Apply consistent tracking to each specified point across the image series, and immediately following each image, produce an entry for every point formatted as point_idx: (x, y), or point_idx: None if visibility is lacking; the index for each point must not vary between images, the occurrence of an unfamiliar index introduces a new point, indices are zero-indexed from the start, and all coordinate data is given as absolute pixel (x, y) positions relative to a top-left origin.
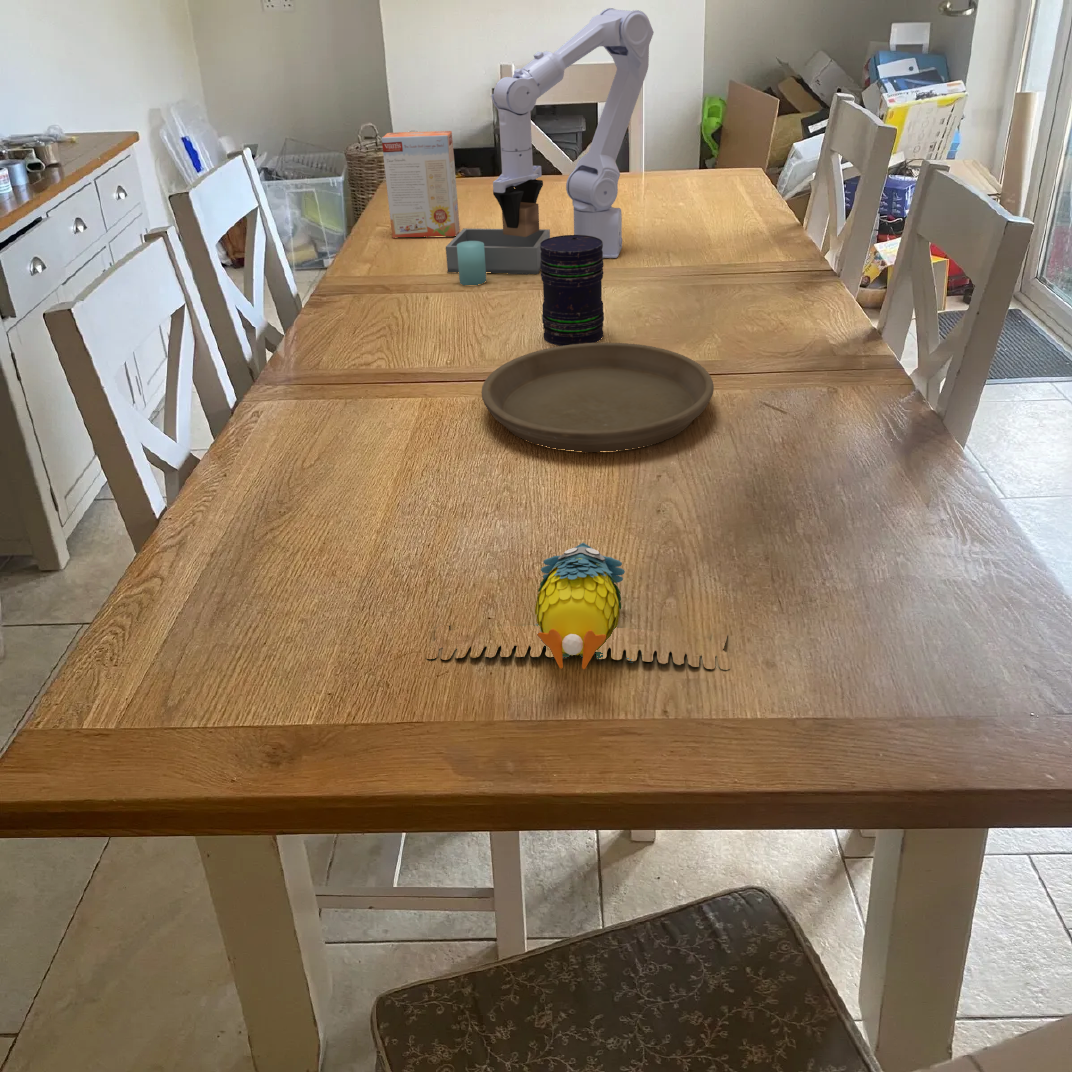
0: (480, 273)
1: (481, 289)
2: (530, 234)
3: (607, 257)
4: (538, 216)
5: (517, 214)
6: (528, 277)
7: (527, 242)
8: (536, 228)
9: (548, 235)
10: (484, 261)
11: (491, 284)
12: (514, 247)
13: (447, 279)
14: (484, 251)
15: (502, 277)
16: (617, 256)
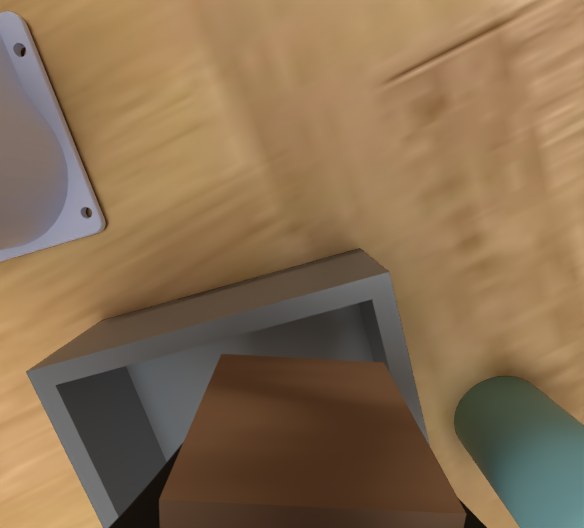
0: (553, 403)
1: (574, 353)
2: (327, 360)
3: (40, 60)
4: (202, 408)
5: (478, 524)
6: (400, 265)
7: (124, 424)
8: (253, 365)
9: (77, 351)
10: (550, 427)
11: (513, 349)
12: (408, 381)
13: (492, 499)
14: (567, 462)
15: (425, 352)
16: (10, 13)
